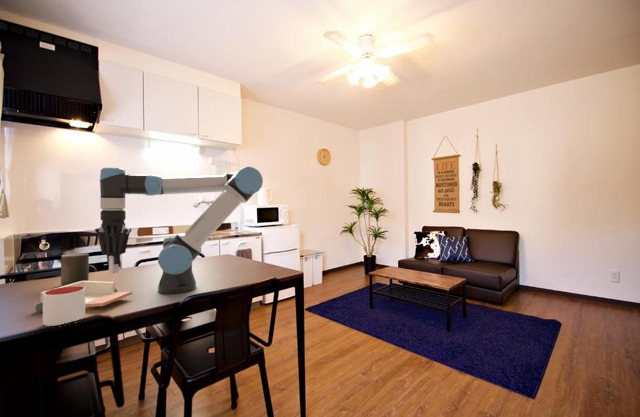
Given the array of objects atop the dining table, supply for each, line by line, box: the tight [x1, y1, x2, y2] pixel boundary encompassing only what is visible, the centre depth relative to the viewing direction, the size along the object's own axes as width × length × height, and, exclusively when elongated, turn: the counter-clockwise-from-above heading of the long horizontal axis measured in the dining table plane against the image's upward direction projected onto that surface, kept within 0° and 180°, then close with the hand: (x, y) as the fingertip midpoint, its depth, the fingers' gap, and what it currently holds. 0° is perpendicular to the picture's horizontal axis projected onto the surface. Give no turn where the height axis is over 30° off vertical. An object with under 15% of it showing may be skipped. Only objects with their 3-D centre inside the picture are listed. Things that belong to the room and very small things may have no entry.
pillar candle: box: [60, 251, 90, 287], centre depth 131 cm, size 10×10×15 cm
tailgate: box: [85, 291, 133, 308], centre depth 106 cm, size 1×13×8 cm
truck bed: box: [35, 280, 118, 313], centre depth 107 cm, size 14×21×6 cm, turn 175°
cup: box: [42, 286, 86, 327], centre depth 90 cm, size 10×10×10 cm
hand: (113, 272), depth 106 cm, fingers closed
